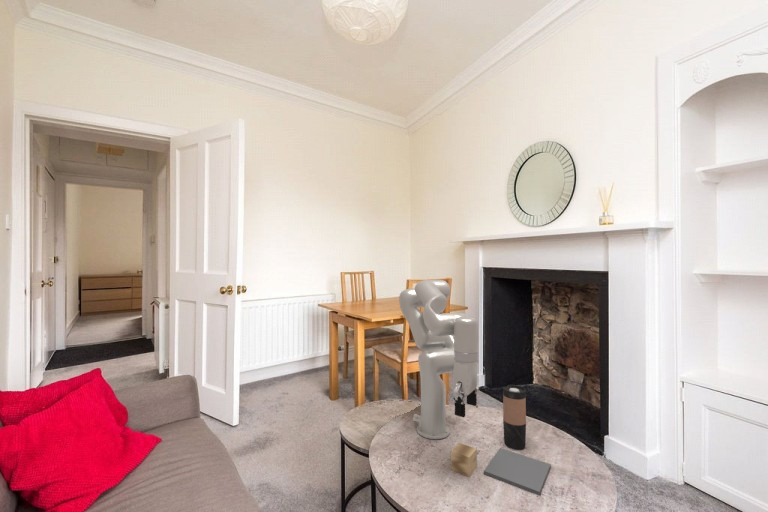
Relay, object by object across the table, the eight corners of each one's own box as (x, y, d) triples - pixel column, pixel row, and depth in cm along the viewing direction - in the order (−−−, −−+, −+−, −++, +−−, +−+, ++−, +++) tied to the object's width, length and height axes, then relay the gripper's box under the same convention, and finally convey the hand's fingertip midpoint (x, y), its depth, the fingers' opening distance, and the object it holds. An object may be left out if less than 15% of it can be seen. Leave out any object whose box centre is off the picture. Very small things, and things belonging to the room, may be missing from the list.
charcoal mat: (483, 474, 103) (483, 470, 103) (500, 450, 116) (500, 447, 116) (539, 495, 94) (539, 491, 94) (550, 467, 107) (550, 464, 107)
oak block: (451, 470, 105) (451, 450, 105) (459, 461, 110) (459, 442, 110) (469, 477, 102) (469, 457, 102) (476, 467, 107) (476, 448, 107)
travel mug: (528, 451, 115) (527, 393, 116) (505, 449, 117) (504, 391, 117) (523, 440, 123) (523, 385, 123) (501, 438, 124) (501, 383, 125)
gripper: (464, 348, 116) (465, 398, 116) (443, 360, 102) (443, 417, 101) (486, 352, 111) (486, 403, 111) (466, 365, 97) (467, 424, 97)
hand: (465, 410), depth 106 cm, fingers open, 9 cm apart
